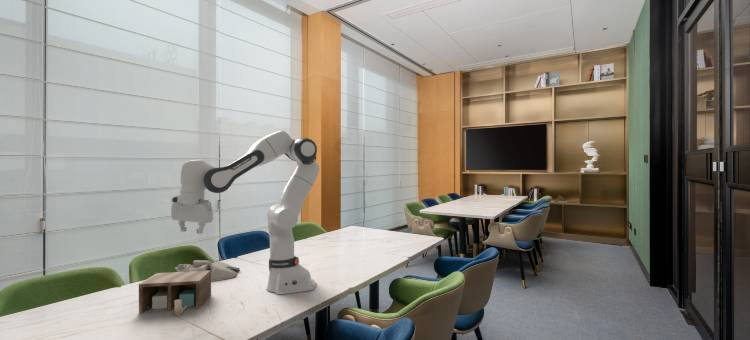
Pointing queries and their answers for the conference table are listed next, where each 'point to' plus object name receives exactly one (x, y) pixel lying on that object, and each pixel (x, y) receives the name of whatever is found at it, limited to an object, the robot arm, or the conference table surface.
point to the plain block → (160, 300)
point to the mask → (218, 269)
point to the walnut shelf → (175, 287)
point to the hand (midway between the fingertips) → (191, 232)
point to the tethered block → (185, 301)
